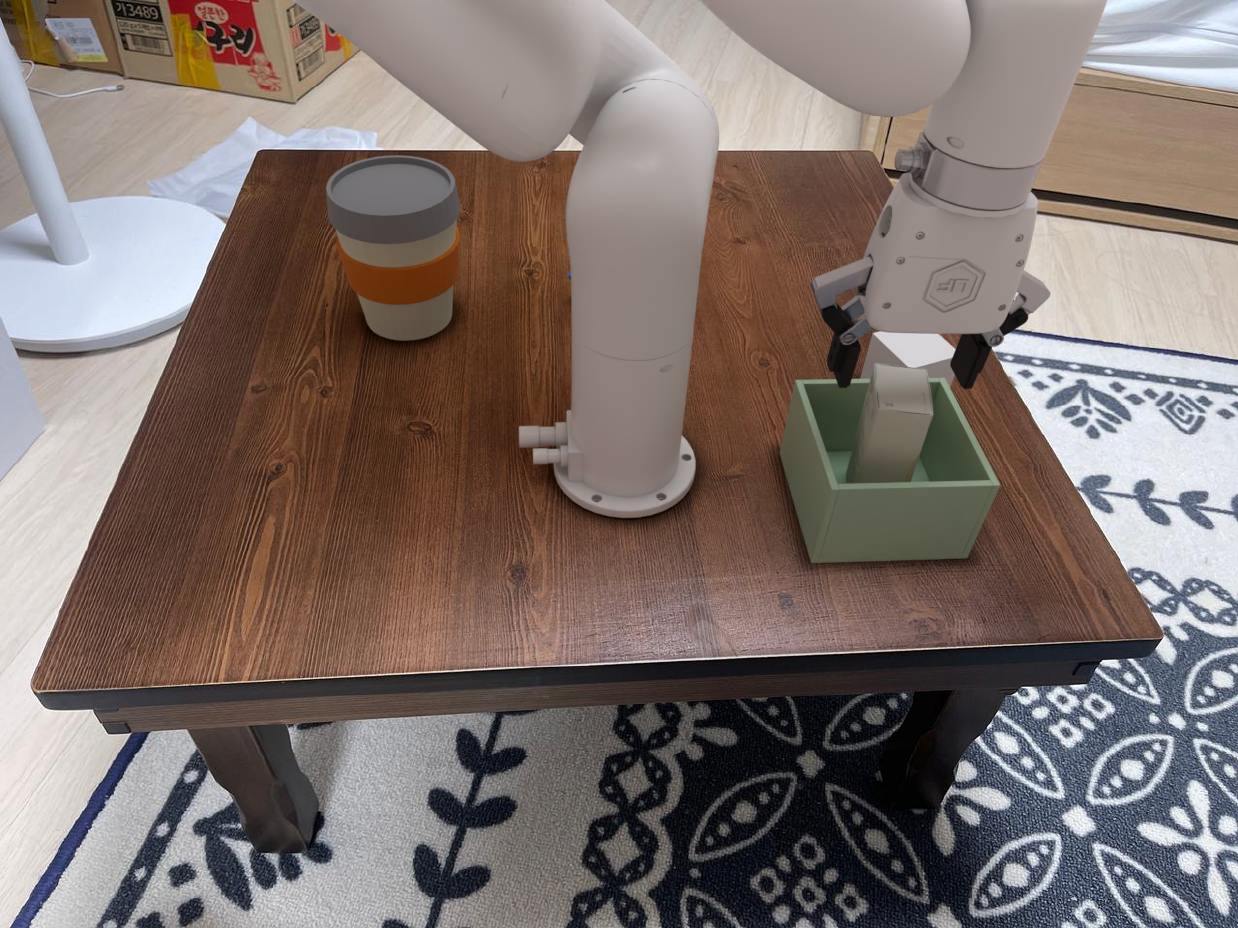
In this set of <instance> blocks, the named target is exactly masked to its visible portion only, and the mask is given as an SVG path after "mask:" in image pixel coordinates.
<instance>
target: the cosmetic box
mask: <svg viewBox="0 0 1238 928" xmlns="http://www.w3.org/2000/svg"><path fill="white" fill-rule="evenodd" d="M932 417H933V404H932V396H931V390H930V384H929V378H928V373H927V370H926V369H921V368H912V367H905V366H897V365H889V364H880V363H875V364H874V366H873V370H872V374H871V378H870V382H869V386H868V390H867V394H866V398H865V402H864V406H863V409H862V413H861V417H860V421H859V425H858V429H857V433H856V437H855V441H854V444H853V448H852V452H851V456H850V460H849V464H848V468H847V472H846V484H853V483H894V482H911V480H912V477H913V474H914V470H915V467H916V464H917V461H918V458H919V455H920V452H921V449H922V446H923V443H924V440H925V437H926V434H927V431H928V428H929V425H930V422H931V420H932Z"/></svg>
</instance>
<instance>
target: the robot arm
mask: <svg viewBox="0 0 1238 928" xmlns="http://www.w3.org/2000/svg"><path fill="white" fill-rule="evenodd" d="M291 1H292V2H294V3H295V4H297V5H298V6H299V7H301V8H302V9H304V10H305V11H306V12H308V14H311V15H312V16H313V17H315V18H316V19H318V20H319V21H321V22H322V23H324V24H325V25H326V26H327V27H329V28H330V29H332V30H333V31H335V32H336V33H337V34H339V35H340V36H342V37H343V38H344V39H346V40H347V41H349V42H350V43H351V44H352V45H353V46H354V47H357V48H358V49H359V50H360V51H361V52H363V53H364V54H365V55H366V56H367V57H368V58H370V59H371V60H373V62H375V63H376V64H377V65H378V66H379V67H380V68H382V69H383V70H384V71H385V72H386V73H388V74H389V75H390V76H391V77H392V78H394V80H397V81H398V82H399V83H400V84H402V85H403V86H404V87H405V88H407V89H408V90H409V91H411V92H412V93H413V94H414V95H416V96H417V97H418V98H420V100H422V101H424V102H425V103H426V104H427V105H429V106H430V107H431V108H432V109H433V110H435V111H436V112H438V113H439V114H440V115H441V116H443V117H444V118H445V119H446V120H448V122H450V123H452V124H453V125H454V126H455V127H457V129H459V130H461V131H462V132H463V133H464V134H465V135H467V136H468V137H469V138H471V139H472V140H473V141H475V142H476V143H477V144H478V145H480V146H481V147H483V148H484V149H485V150H487V151H488V152H490V153H492V154H494V155H496V156H499V157H500V158H502V159H505V160H508V161H513V162H520V163H527V162H533V161H536V160H537V161H538V160H540V159H542V158H544V157H546V156H548V155H550V154H551V153H553V152H554V151H555V150H557V148H559V147H560V145H561V144H562V143H563V142H564V141H565V139H567V137H568V136H569V135H570V136H571V137H572V138H573V139H575V140H576V141H577V142H579V143H580V144H581V145H582V149H581V150H580V153H579V155H578V158H577V160H576V163H575V166H574V168H573V172H572V174H571V178H570V181H569V185H568V191H567V196H566V203H565V232H566V241H567V249H568V256H569V265H570V267H569V268H570V271H571V280H570V291H571V293H570V294H571V295H570V297H571V298H570V299H571V301H570V302H571V303H570V304H571V306H570V307H571V308H570V310H571V313H570V316H571V318H570V321H571V322H570V323H571V384H570V385H571V393H570V394H571V395H570V397H571V398H570V399H571V401H570V402H571V403H570V404H571V407H570V409H568V410H566V421H556V422H555V424H554V426H540V425H519V426H518V448H519V449H531V448H532V465H548V464H553V474H554V478H555V480H556V482H557V483H556V484H557V485H558V487H559V488H560V489H561V491H562V492H563V493H564V495H566V496H567V497H568V498H569V499H570V500H571V501H572V502H574V503H575V504H577V505H578V506H580V507H581V508H583V509H585V510H588V511H590V512H593V513H594V514H597V515H602V516H606V517H611V518H621V519H633V518H634V519H635V518H636V519H637V518H642V517H648V516H653V515H655V514H660V513H662V512H664V511H666V510H668V509H670V508H671V507H673V506H675V505H677V504H678V503H679V502H681V500H683V499H684V498H685V496H686V495H687V494H688V493H689V491H690V490H691V488H692V486H693V483H694V480H695V474H696V467H697V463H696V456H695V452H694V450H693V448H692V446H691V444H690V442H689V441H688V440H687V439H686V438H685V437H684V436H683V427H684V419H685V409H686V402H687V392H688V385H689V376H690V367H691V358H692V350H693V342H694V333H695V322H696V321H695V320H696V312H697V304H698V303H697V301H698V293H699V283H700V276H701V275H700V274H701V266H702V255H703V248H704V243H705V236H706V230H707V225H708V224H707V222H708V215H709V209H710V202H711V197H712V190H713V185H714V180H715V169H716V164H717V161H718V154H719V146H720V126H719V121H718V116H717V114H716V110H715V108H714V106H713V103H712V102H711V100H710V98H709V97H708V95H707V94H706V92H705V91H704V90H703V89H702V87H701V86H700V85H699V84H698V83H697V81H695V80H694V78H692V77H691V76H690V74H688V73H687V71H685V70H684V69H683V68H682V67H681V66H680V65H678V64H677V63H676V62H675V61H674V60H673V59H672V58H670V56H668V54H666V52H664V51H663V50H662V49H661V48H659V47H658V46H657V44H656V43H654V42H652V40H650V39H649V38H648V37H647V36H646V35H645V34H644V33H643V32H641V31H640V30H639V29H638V28H637V27H636V26H635V25H634V24H633V23H631V22H630V21H629V20H628V19H627V18H626V17H624V15H622V14H621V13H620V12H618V10H617V9H615V8H614V7H613V6H612V5H611V4H609V2H607V1H606V0H291ZM698 1H699V2H700V3H701V4H703V6H704V7H706V8H707V9H708V10H709V12H711V13H712V14H713V15H714V16H715V17H716V18H717V19H718V20H719V21H721V22H722V23H723V24H724V25H725V26H726V27H727V28H728V29H729V30H730V31H731V32H732V33H734V34H735V35H736V36H737V37H739V38H740V39H741V40H742V41H743V42H745V43H746V44H747V45H749V46H750V47H751V48H753V49H754V50H755V51H757V52H758V53H760V54H761V55H762V56H764V57H765V58H766V59H768V60H770V61H771V62H773V63H774V64H775V65H777V66H778V67H780V68H782V69H783V70H785V71H787V73H790V74H791V75H793V76H794V77H796V78H797V79H799V80H800V81H803V82H804V83H806V84H807V85H809V86H810V87H812V88H813V89H815V90H817V91H819V92H820V93H822V94H824V95H825V96H826V97H828V98H830V99H832V100H833V101H835V102H837V103H838V104H840V105H842V106H844V107H847V108H848V109H851V110H853V111H856V112H859V113H863V114H865V115H868V116H872V117H881V118H896V117H897V118H898V117H903V116H908V115H911V114H915V113H918V112H920V111H922V110H924V109H926V108H928V107H930V108H929V110H928V115H927V118H926V121H925V124H924V128H923V131H920V132H919V134H918V138H917V141H916V144H915V145H914V146H910V147H908V148H898V149H897V150H896V152H895V156H894V168H895V170H896V171H902V172H903V171H905V172H903V173H902V174H901V175H900V177H899V179H898V180H897V181H896V183H895V185H894V187H893V189H892V191H891V193H890V194H889V196H888V198H887V200H886V202H885V203H884V206H883V208H882V210H881V212H880V214H879V216H878V219H877V221H876V224H875V226H874V228H873V231H872V232H871V235H870V237H869V241H868V242H867V243H868V244H867V246H866V249H865V252H864V254H863V257H862V258H861V259H858V260H856V261H853V262H851V263H848V264H846V265H843V266H840V267H838V268H836V269H833V270H830V271H828V272H825V273H822V274H820V275H817V276H815V277H814V278H812V280H811V282H810V286H811V290H812V292H813V295H814V298H815V301H816V303H817V307H818V309H819V313H820V315H821V318H822V321H823V322H824V323H825V324H826V325H827V326H828V328H830V329H831V331H832V332H833V336H832V339H831V343H830V346H829V349H828V353H827V357H826V365H827V368H828V371H829V372H830V373H833V375H834V379H836V381H837V383H838V386H839V388H847V387H848V386H850V383H851V380H852V379H853V378H854V377H853V376H854V374H855V371H856V367H857V365H858V364H857V363H858V360H859V358H860V354H861V351H862V346H861V343H860V341H859V340H860V339H861V338H862V337H863V336H865V335H866V334H867V333H869V332H870V331H872V330H873V329H874V330H876V331H877V332H879V331H882V332H889V333H919V334H939V335H960V338H959V340H958V343H957V344H956V347H955V349H956V350H955V352H954V355H953V357H952V360H951V362H950V366H951V369H952V370H953V372H954V374H955V376H954V377H955V378H956V380H957V383H958V385H960V387H961V388H963V389H964V390H971V389H973V387H974V385H975V382H976V380H977V378H978V376H979V374H980V373H982V372H983V369H984V367H985V365H986V363H987V360H988V358H989V355H990V353H991V351H992V348H996V347H998V346H1000V345H1002V344H1003V342H1004V340H1005V336H1007V335H1008V334H1011V333H1012V332H1013V331H1015V330H1016V329H1019V328H1020V327H1021V326H1023V325H1025V324H1026V323H1027V322H1028V320H1029V315H1031V314H1034V313H1035V312H1036V311H1037V310H1038V309H1039V308H1040V307H1041V306H1042V305H1043V304H1044V303H1046V301H1047V300H1048V299H1049V298H1050V297H1051V291H1050V290H1049V288H1048V286H1046V284H1045V283H1044V281H1042V280H1041V279H1039V278H1038V277H1036V276H1034V275H1032V274H1031V273H1029V272H1027V271H1026V270H1025V268H1026V264H1027V260H1028V257H1029V253H1030V249H1031V246H1032V241H1033V237H1034V233H1035V232H1034V231H1035V226H1036V221H1037V214H1038V210H1039V209H1038V208H1039V200H1038V197H1036V195H1035V194H1034V193H1033V192H1032V188H1033V186H1034V184H1035V181H1036V179H1037V177H1038V174H1039V172H1040V169H1041V167H1042V164H1043V162H1044V159H1045V157H1046V155H1047V152H1048V150H1049V148H1050V146H1051V145H1050V144H1051V142H1052V140H1053V138H1054V135H1055V133H1056V130H1057V129H1058V128H1057V127H1058V125H1059V124H1060V120H1061V117H1062V116H1063V113H1064V111H1065V109H1066V106H1067V104H1068V101H1069V98H1070V96H1071V93H1072V91H1073V88H1074V86H1075V84H1076V82H1077V78H1078V76H1079V73H1080V72H1081V68H1082V66H1083V65H1084V61H1085V59H1086V57H1087V54H1088V52H1089V49H1090V47H1091V45H1092V41H1093V39H1094V37H1095V35H1096V32H1097V29H1098V27H1099V25H1100V23H1101V20H1102V17H1103V14H1104V12H1105V9H1106V6H1107V2H1108V0H698ZM853 289H854V292H855V296H853V298H851V299H850V300H849V301H847V302H846V303H844V305H842V306H840V305H839V303H837V301H836V298H837V296H839V295H840V294H842V293H844V292H847V291H850V290H853ZM1017 293H1018V294H1017ZM540 447H545V448H540ZM547 447H555V448H547Z"/></svg>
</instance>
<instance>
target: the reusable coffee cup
mask: <svg viewBox="0 0 1238 928" xmlns="http://www.w3.org/2000/svg"><path fill="white" fill-rule="evenodd" d="M325 193H326V207H327V218H328V222H329V224H331V226H332V227H333V229H335V232H336V240H335V244H336V248H337V252H338V255H339V258H340V260H341V264H342V266H343V269H344V272H345V275H346V278H347V280H348V283H349V286H350V288H351V289H352V291H353V292H355V293H356V295H357V297H358V301H359V304H360V306H361V309H362V312H363V315H364V318H365V321H366V324H367V326H368V328H369V329H370V330H372V332H373V333H374V334H376V335H378V336H379V337H383V338H385V339H389V340H394V341H403V342H404V341H405V342H407V341H416V340H422V339H425V338H429V337H431V336H434V335H436V334H438V333H440V332H441V331H443V330H444V329H446V327H448V325H449V323H450V322H451V320H452V317H453V303H454V302H453V300H454V285H455V283H456V282H457V279H458V277H459V262H460V244H461V232H460V230H459V227H458V226H457V222H458V221H457V219H458V218H459V216H460V213H461V202H460V198H459V194H458V193H459V192H458V188H457V183H456V179H455V177H454V175H453V173H452V172H451V171H450V170H449V168H447V167H445V165H443V164H441V163H439V162H437V161H434V160H432V159H428V158H424V157H420V156H414V155H413V156H412V155H400V154H399V155H398V154H397V155H394V154H393V155H382V156H381V155H380V156H374V157H367V158H363V159H361V160H357V161H354V162H352V163H350V164H347V165H345V166H343V167H342V168H340V169H338V170H337V171H335V172H334V173H333V174H332V175H331V176H330V177H329V178H328V181H327V182H326V187H325Z"/></svg>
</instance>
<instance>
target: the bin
mask: <svg viewBox="0 0 1238 928" xmlns="http://www.w3.org/2000/svg"><path fill="white" fill-rule="evenodd" d="M869 382H870V379H860V378H852V380H851V383H850V386H848V387H847V388H839V386H838V383H837V381H836V378H834V379H833V378H827V379H826V378H823V379H822V378H821V379H820V378H819V379H795V380H794V384H793V388H792V394H791V397H790V398H791V399H790V403H789V408H788V412H787V416H786V421H785V426H784V430H783V435H782V440H781V444H780V449H779V456H780V460H781V465H782V467H783V470H784V474H785V477H786V481H787V484H788V488H789V490H790V494H791V499H792V501H793V505H794V508H795V512H796V516H797V519H798V523H799V526H800V529H801V533H802V536H803V540H804V544H805V547H806V550H807V554H808V557H809V561H810V564H828V563H829V564H832V563H833V564H834V563H853V562H854V563H862V562H865V563H866V562H894V561H895V562H896V561H925V560H926V561H928V560H956V559H959V560H960V559H968V557H969V556H970V553H971V550H972V548H973V546H974V544H975V542H976V540H977V538H978V536H979V533H980V531H981V529H982V527H983V524H984V523H985V520H986V518H987V516H988V513H989V511H990V509H991V507H992V505H993V502H994V500H995V497H996V496H997V493H998V492H999V489H1000V487H1001V483H1000V482H999V480H998V478H997V476H996V474H995V472H994V469H993V467H992V466H991V464H990V462H989V460H988V458H987V456H986V455H985V453H984V450H983V449H982V447H981V445H980V443H979V441H978V439H977V437H976V435H975V433H974V431H973V429H972V427H971V426H970V424H969V422H968V420H967V418H966V415H965V414H964V413H963V409H962V408H961V406H960V405H959V402H958V401H957V399H956V397H955V395H954V393H953V390H952V389H951V387H949V385H948V383H947V381H946V379H945V378H929V384H930V390H931V396H932V404H933V417H932V420H931V422H930V425H929V428H928V431H927V434H926V437H925V440H924V443H923V446H922V449H921V452H920V455H919V458H918V461H917V464H916V467H915V470H914V474H913V477H912V480H911V482H894V483H853V484H846V472H847V468H848V464H849V460H850V456H851V452H852V448H853V444H854V441H855V437H856V433H857V429H858V425H859V421H860V417H861V413H862V409H863V406H864V402H865V398H866V394H867V390H868V386H869Z"/></svg>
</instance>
